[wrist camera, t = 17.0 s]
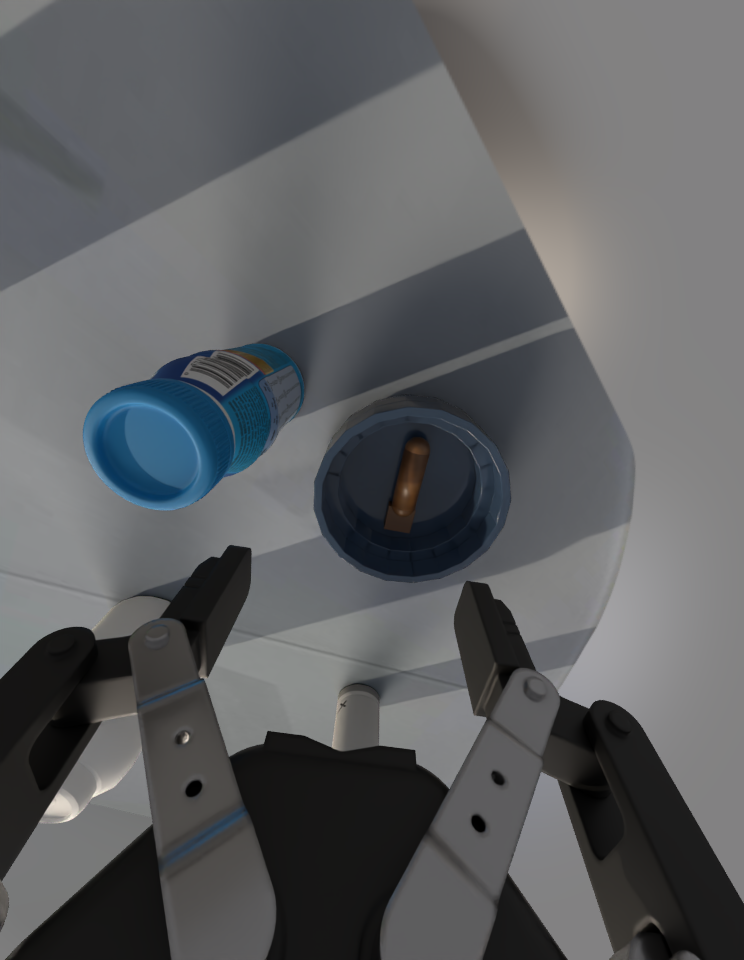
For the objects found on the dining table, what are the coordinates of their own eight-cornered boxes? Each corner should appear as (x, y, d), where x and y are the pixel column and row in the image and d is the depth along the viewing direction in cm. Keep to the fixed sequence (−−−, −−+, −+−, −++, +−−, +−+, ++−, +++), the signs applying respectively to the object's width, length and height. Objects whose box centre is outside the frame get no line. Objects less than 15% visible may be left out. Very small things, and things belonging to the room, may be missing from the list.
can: (140, 577, 47) (-15, 742, 29) (220, 629, 50) (127, 807, 32) (95, 627, 51) (-67, 800, 33) (172, 672, 54) (64, 853, 36)
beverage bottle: (322, 407, 37) (262, 494, 19) (252, 439, 39) (135, 547, 21) (280, 325, 34) (161, 335, 16) (206, 364, 36) (22, 413, 18)
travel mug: (332, 684, 54) (306, 871, 36) (376, 681, 54) (372, 869, 35) (339, 712, 57) (319, 899, 39) (381, 709, 56) (381, 898, 38)
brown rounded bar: (404, 431, 37) (406, 438, 35) (433, 436, 38) (436, 444, 35) (383, 523, 42) (383, 535, 40) (408, 528, 42) (410, 540, 40)
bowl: (483, 375, 36) (501, 386, 30) (500, 534, 43) (517, 566, 37) (301, 415, 38) (288, 432, 32) (346, 560, 45) (341, 594, 40)
